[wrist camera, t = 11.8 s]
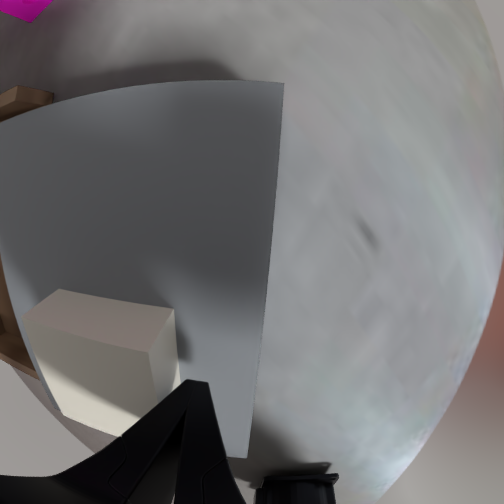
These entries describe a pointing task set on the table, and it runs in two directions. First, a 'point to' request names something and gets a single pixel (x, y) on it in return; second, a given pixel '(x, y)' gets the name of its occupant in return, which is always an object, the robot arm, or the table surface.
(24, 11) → the toy block
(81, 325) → the tile
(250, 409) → the board
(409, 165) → the table surface
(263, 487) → the robot arm
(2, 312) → the box
